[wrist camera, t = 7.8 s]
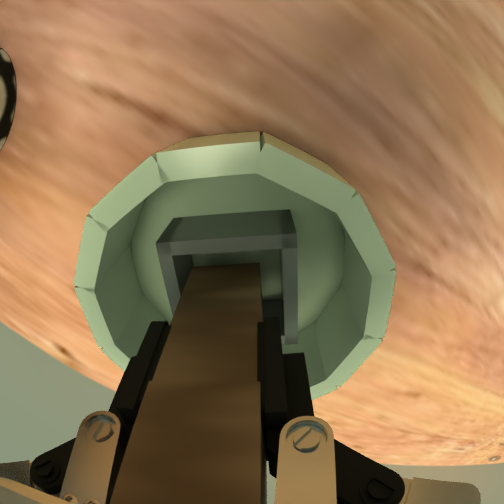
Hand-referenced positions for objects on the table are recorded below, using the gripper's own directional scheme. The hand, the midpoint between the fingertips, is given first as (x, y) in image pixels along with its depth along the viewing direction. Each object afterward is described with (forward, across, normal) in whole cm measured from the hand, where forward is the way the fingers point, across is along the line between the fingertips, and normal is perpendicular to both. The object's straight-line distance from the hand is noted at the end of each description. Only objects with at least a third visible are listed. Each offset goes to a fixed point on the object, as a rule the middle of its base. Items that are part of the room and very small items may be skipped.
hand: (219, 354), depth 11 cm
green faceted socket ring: (+7, 0, 0) cm, 7 cm away
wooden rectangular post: (+4, 0, 0) cm, 4 cm away
